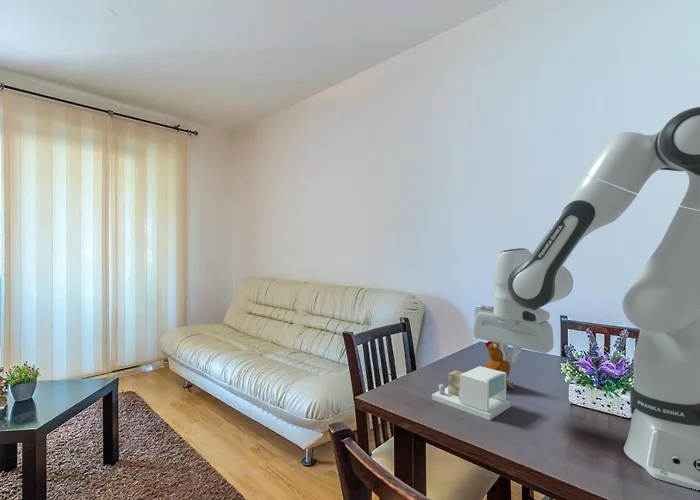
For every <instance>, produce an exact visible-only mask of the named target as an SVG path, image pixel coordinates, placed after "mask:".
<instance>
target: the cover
mask: <svg viewBox="0 0 700 500" xmlns="http://www.w3.org/2000/svg"><path fill="white" fill-rule="evenodd" d="M506 380H507V378H506V373H505V372H501V371H497V370H493V369H489V368H486V367H484V366H480V365H479V366H476V367H475V368H472V369H470V370H468V371H465V372H463V374H461V375H460V403H463V404H466V405H469V406H472V407H475V408H478V409H481V410H484V411H486V412H487V411H489V398H491V397H494V398H497V399H500V400H503V401H505V400H507V384H506Z"/></svg>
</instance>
